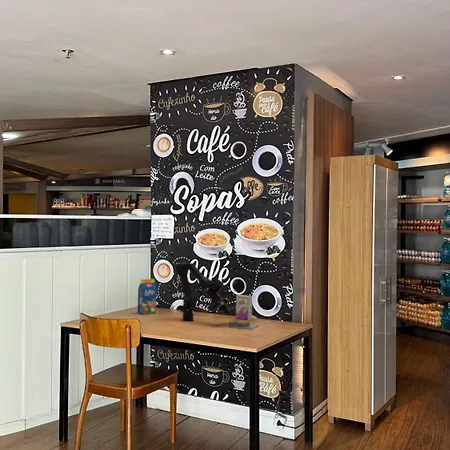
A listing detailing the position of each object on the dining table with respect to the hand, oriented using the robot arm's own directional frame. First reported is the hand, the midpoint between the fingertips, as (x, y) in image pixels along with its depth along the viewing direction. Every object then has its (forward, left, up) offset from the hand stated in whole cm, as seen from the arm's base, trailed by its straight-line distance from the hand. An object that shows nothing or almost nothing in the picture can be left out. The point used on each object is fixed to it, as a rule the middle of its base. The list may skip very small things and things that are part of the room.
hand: (229, 314), depth 368 cm
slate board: (+8, -6, -7) cm, 12 cm away
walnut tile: (+1, -1, -5) cm, 5 cm away
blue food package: (-40, +65, -8) cm, 77 cm away
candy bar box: (+20, +25, -8) cm, 32 cm away
